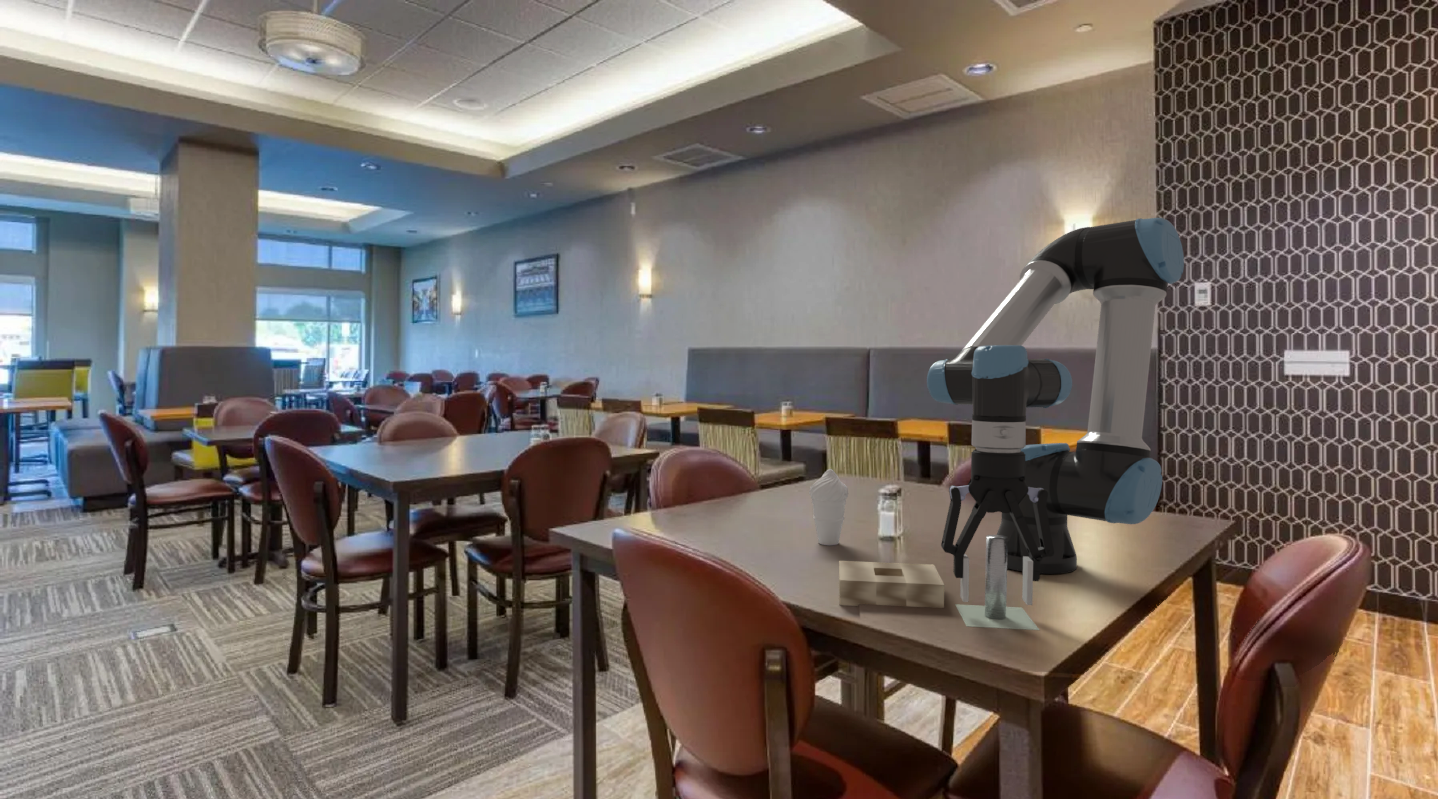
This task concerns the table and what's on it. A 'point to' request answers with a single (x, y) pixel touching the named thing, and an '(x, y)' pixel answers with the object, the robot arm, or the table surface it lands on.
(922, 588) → the block
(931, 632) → the table surface
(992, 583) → the peg
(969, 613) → the mat
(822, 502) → the soft serve ice cream cone
